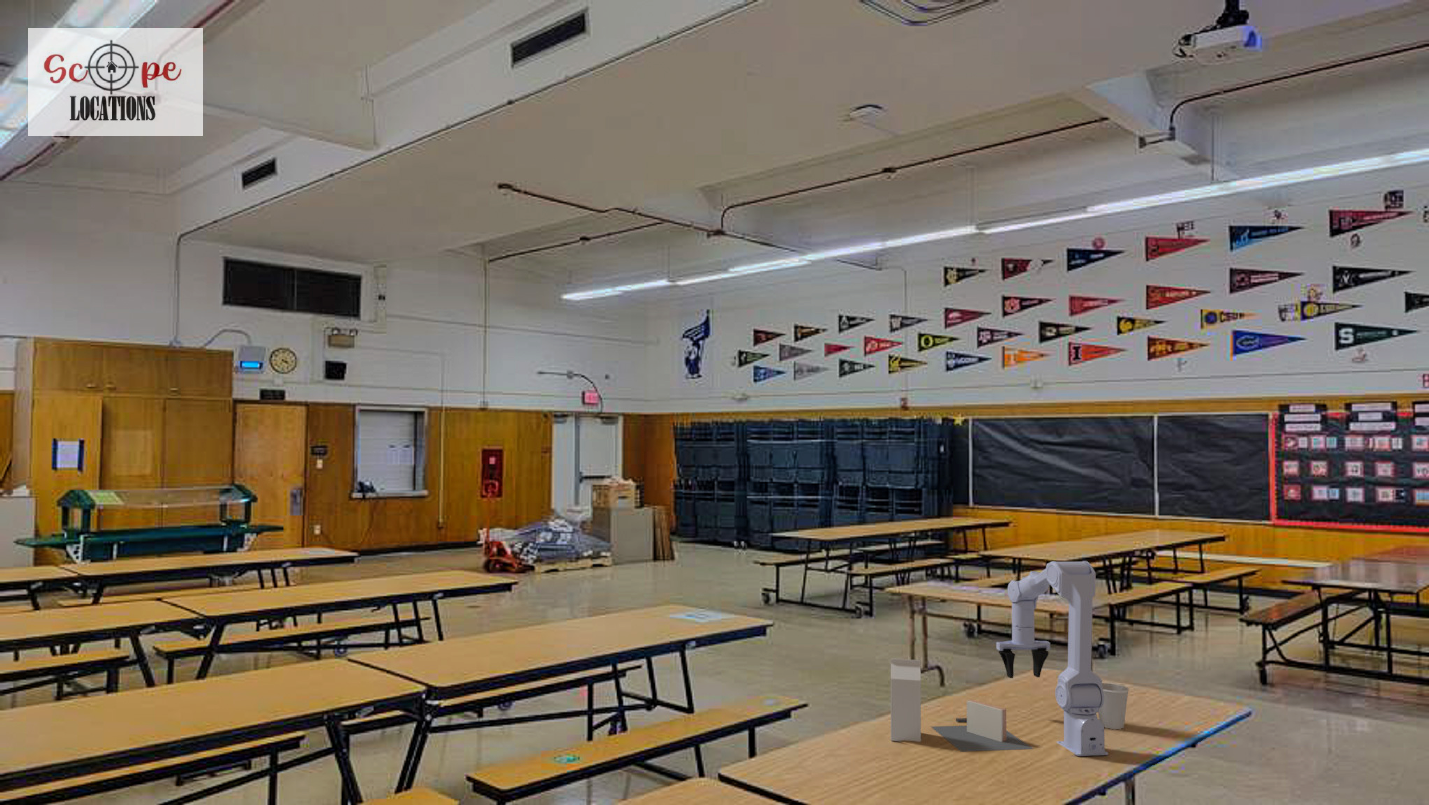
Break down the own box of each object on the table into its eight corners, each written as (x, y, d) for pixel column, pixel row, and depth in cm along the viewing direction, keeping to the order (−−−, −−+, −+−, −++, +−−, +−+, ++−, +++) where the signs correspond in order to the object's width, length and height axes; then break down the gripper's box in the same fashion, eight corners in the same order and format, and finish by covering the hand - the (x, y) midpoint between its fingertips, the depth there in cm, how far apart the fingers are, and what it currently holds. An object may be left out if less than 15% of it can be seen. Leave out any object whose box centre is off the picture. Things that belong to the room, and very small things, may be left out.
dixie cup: (1122, 722, 236) (1122, 683, 237) (1134, 731, 228) (1134, 691, 229) (1089, 720, 237) (1089, 682, 238) (1100, 730, 229) (1099, 690, 229)
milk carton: (920, 743, 217) (920, 663, 218) (890, 741, 218) (890, 662, 219) (920, 734, 224) (920, 657, 225) (890, 732, 225) (891, 655, 226)
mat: (1033, 751, 212) (1033, 749, 212) (961, 753, 210) (961, 751, 210) (997, 726, 231) (997, 724, 231) (930, 728, 229) (930, 726, 229)
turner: (991, 718, 238) (991, 714, 238) (1003, 726, 231) (1003, 722, 231) (922, 720, 236) (922, 716, 236) (932, 728, 229) (932, 724, 229)
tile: (971, 730, 226) (971, 699, 227) (1006, 740, 218) (1006, 709, 219) (966, 731, 225) (966, 701, 225) (1001, 742, 217) (1001, 710, 218)
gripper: (1040, 622, 248) (1041, 672, 247) (991, 623, 246) (991, 673, 245) (1054, 627, 241) (1054, 679, 240) (1003, 628, 239) (1003, 680, 238)
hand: (1023, 677), depth 242 cm, fingers open, 7 cm apart
